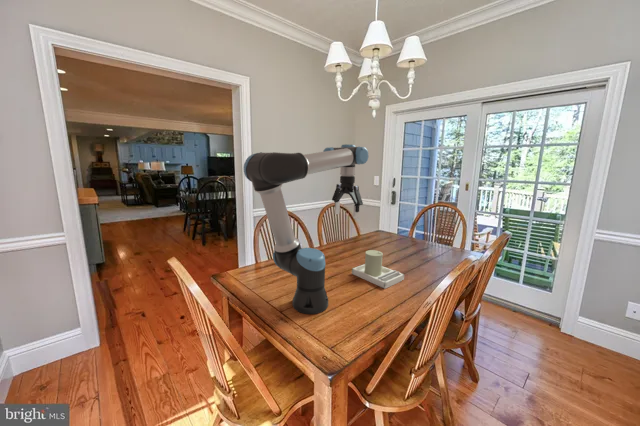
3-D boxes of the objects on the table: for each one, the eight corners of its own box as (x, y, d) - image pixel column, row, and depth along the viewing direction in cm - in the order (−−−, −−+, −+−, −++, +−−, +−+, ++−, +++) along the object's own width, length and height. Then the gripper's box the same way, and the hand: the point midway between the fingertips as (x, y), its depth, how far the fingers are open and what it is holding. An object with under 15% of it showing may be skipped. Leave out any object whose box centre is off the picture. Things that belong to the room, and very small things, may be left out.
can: (381, 277, 136) (383, 255, 134) (363, 275, 138) (365, 254, 136) (381, 270, 145) (382, 249, 143) (364, 269, 147) (365, 248, 145)
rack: (385, 288, 126) (385, 281, 125) (351, 273, 143) (352, 266, 142) (403, 279, 136) (404, 272, 136) (370, 266, 153) (371, 260, 152)
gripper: (371, 176, 127) (369, 219, 131) (336, 174, 146) (335, 211, 150) (361, 177, 123) (359, 221, 127) (326, 174, 142) (325, 213, 146)
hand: (346, 216), depth 139 cm, fingers open, 13 cm apart
